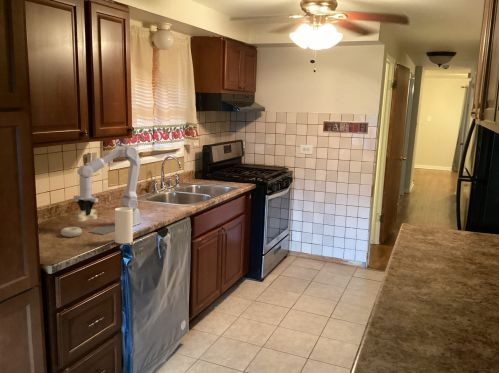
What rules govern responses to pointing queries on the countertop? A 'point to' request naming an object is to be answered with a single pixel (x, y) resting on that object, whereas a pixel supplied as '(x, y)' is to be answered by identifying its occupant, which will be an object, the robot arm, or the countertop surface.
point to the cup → (123, 225)
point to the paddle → (83, 217)
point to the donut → (71, 231)
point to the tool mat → (104, 230)
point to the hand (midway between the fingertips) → (86, 214)
